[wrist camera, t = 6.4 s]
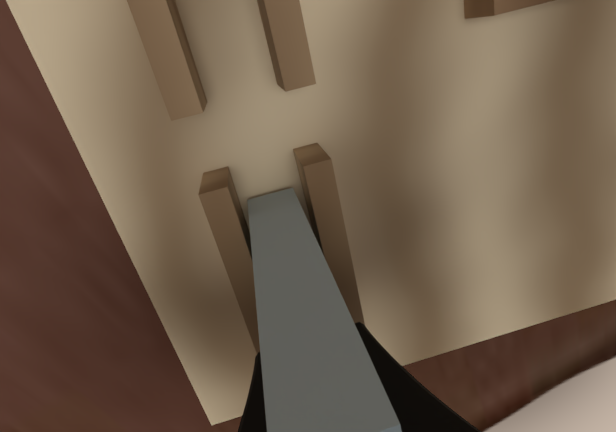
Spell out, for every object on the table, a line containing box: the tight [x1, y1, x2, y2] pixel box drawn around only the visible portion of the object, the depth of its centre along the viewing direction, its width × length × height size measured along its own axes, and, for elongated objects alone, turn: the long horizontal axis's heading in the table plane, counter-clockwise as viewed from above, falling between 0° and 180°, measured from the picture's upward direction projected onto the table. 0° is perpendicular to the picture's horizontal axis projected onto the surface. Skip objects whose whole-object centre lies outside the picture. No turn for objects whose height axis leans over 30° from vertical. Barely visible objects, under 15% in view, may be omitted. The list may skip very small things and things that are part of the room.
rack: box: [6, 0, 616, 425], centre depth 12 cm, size 20×22×3 cm
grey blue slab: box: [247, 188, 402, 432], centre depth 10 cm, size 2×7×9 cm, turn 13°
